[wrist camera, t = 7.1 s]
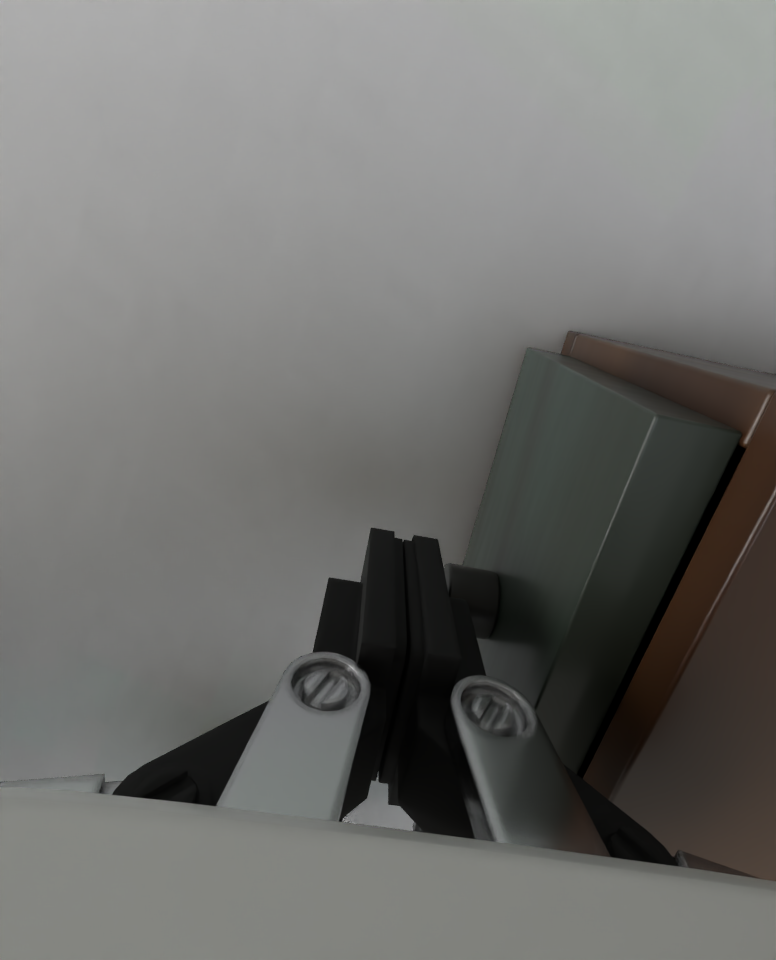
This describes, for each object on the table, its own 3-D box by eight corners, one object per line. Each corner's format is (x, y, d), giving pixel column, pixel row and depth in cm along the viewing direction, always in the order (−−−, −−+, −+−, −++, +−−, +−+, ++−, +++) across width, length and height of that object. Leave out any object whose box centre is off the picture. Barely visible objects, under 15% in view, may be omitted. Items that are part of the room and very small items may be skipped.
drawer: (396, 669, 17) (388, 918, 10) (482, 337, 13) (565, 394, 6) (795, 742, 18) (1032, 1023, 11) (1000, 447, 14) (1584, 608, 7)
